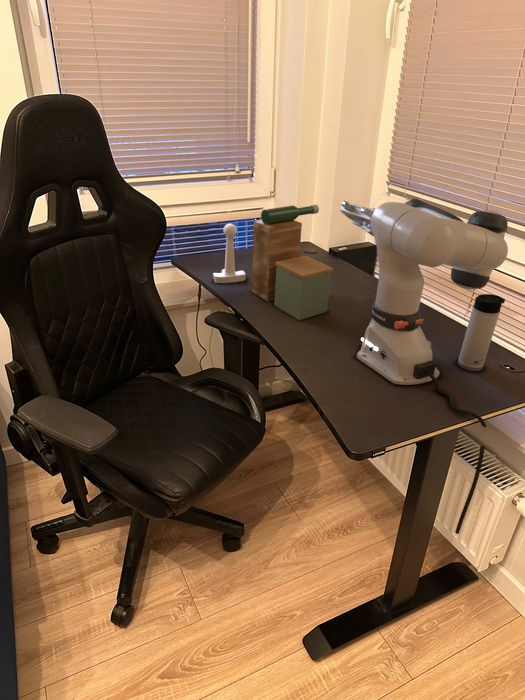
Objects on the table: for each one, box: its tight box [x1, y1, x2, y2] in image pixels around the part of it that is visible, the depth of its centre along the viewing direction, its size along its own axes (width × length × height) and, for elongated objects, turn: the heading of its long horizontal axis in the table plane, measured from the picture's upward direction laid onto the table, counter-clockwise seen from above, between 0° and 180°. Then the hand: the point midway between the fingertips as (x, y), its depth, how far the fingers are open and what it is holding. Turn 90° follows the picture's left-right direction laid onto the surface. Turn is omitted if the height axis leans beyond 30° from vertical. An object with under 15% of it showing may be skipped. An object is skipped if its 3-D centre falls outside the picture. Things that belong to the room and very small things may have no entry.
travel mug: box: [457, 293, 506, 372], centre depth 128 cm, size 6×7×20 cm
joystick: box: [212, 223, 247, 284], centre depth 174 cm, size 11×8×20 cm
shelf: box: [251, 219, 303, 302], centre depth 163 cm, size 9×12×24 cm
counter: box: [273, 255, 334, 321], centre depth 156 cm, size 13×12×14 cm
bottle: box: [260, 204, 320, 224], centre depth 159 cm, size 20×4×4 cm, turn 126°
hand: (352, 206), depth 168 cm, fingers open, 8 cm apart
